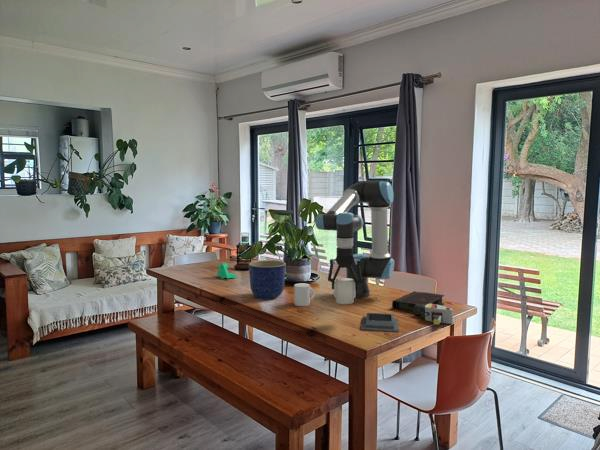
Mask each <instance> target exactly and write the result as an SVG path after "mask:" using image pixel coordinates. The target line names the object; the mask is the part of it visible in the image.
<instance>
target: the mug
mask: <svg viewBox="0 0 600 450" xmlns="http://www.w3.org/2000/svg"><path fill="white" fill-rule="evenodd" d="M315 293H316V292H315V291H314V289H313V288H312V286H311V284H309V283H304V282H303V283H301V282H300V283H295V284H294V285H293V294H294V295H293V304H294V306H297V307H307V306H309V305H310V304H311V303H310V302H311V301H312V300H313V299H314V298H315V297H316V294H315Z"/></svg>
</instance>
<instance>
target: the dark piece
mask: <svg viewBox="0 0 600 450" xmlns="http://www.w3.org/2000/svg"><path fill="white" fill-rule="evenodd" d="M249 247H251V248H252V245H251V244H250V242H247V244H241V242H238V244H236V252H235V253H236V264H235V265H233V268H234V269H235V270H236V271H238V270H249V263H251V262H252V258H251V259H250V260H242V259H240V258H239V255H240V254H241V253H242V252H244V251H245V250H247V249H248V248H249Z"/></svg>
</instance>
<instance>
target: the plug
mask: <svg viewBox="0 0 600 450" xmlns="http://www.w3.org/2000/svg"><path fill="white" fill-rule="evenodd" d="M335 282H336V297H335V302H336V304H339V305H349V304H350V305H351V304H353V303H354V302H355V301H354V300H355V298H353V284H354V280H353V279H350V278H347V277H340V278H336V279H335Z"/></svg>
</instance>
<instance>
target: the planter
mask: <svg viewBox="0 0 600 450" xmlns="http://www.w3.org/2000/svg"><path fill="white" fill-rule="evenodd" d="M248 263H249V262H248ZM286 265H287V263H286V262H285V261H281V260H270V259H265V260H264V259H263V260H254V261H251V263H249V271H248V275H249V276H248V277H249V285H250V290H251V293H252V294H253V295H254V297H256V298H258V299H262V300H272V299H276V298H278V297H280V296H281V295H282V293H283V291H284V289H285V279H286Z"/></svg>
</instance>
